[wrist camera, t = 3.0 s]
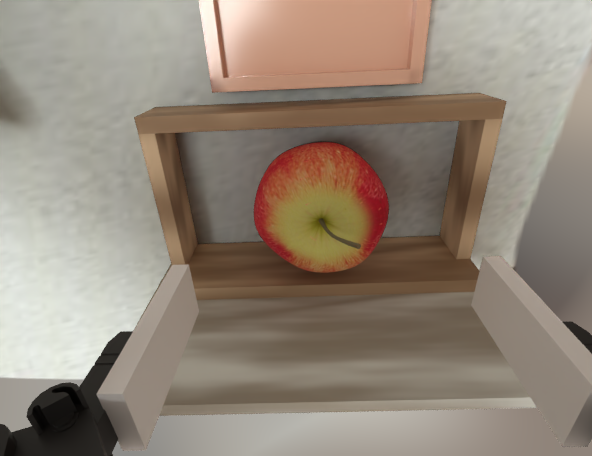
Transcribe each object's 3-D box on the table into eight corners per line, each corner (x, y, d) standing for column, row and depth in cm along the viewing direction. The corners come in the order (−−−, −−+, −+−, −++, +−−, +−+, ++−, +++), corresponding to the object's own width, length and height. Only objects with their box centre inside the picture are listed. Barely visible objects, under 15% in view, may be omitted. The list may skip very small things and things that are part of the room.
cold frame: (137, 108, 24) (-30, 180, 12) (479, 92, 24) (677, 152, 11) (176, 263, 30) (92, 418, 18) (447, 254, 30) (554, 408, 17)
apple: (377, 220, 28) (414, 302, 19) (275, 238, 29) (265, 325, 20) (366, 116, 24) (404, 160, 16) (248, 141, 25) (221, 196, 16)
